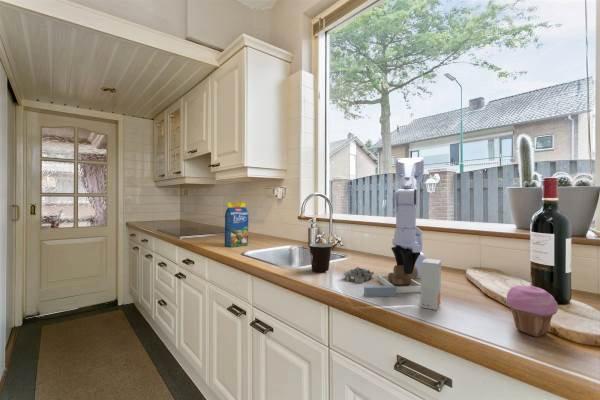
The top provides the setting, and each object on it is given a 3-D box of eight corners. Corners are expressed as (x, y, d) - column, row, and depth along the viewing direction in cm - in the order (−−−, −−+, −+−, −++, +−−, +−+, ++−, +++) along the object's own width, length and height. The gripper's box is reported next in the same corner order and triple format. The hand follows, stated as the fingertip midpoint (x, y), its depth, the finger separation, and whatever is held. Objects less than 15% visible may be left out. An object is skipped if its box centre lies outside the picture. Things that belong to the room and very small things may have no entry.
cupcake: (542, 345, 59) (543, 294, 59) (497, 327, 67) (497, 282, 67) (565, 336, 63) (566, 289, 63) (520, 321, 71) (521, 278, 71)
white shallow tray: (404, 281, 103) (404, 275, 103) (425, 293, 90) (425, 286, 90) (377, 282, 102) (377, 275, 102) (394, 294, 89) (394, 287, 89)
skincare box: (437, 310, 77) (438, 264, 77) (419, 307, 79) (420, 261, 79) (440, 303, 82) (441, 259, 82) (424, 300, 84) (424, 258, 84)
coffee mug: (330, 274, 112) (330, 247, 112) (307, 272, 114) (307, 246, 113) (333, 267, 123) (333, 242, 123) (312, 266, 125) (312, 242, 125)
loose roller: (395, 280, 93) (400, 276, 90) (392, 267, 95) (397, 263, 92) (413, 279, 94) (419, 276, 90) (410, 267, 96) (416, 263, 92)
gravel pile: (360, 286, 98) (360, 274, 98) (340, 282, 103) (341, 270, 103) (376, 280, 106) (376, 268, 106) (357, 276, 111) (357, 264, 111)
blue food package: (224, 246, 172) (224, 202, 172) (241, 244, 181) (242, 202, 181) (230, 247, 168) (231, 202, 168) (248, 245, 177) (248, 202, 176)
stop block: (393, 295, 88) (393, 285, 88) (396, 297, 86) (396, 287, 86) (363, 296, 87) (364, 286, 87) (365, 298, 85) (365, 287, 85)
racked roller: (405, 271, 99) (411, 274, 95) (405, 283, 99) (411, 286, 95) (387, 271, 98) (393, 274, 94) (387, 283, 98) (393, 287, 94)
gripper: (430, 230, 86) (430, 277, 86) (406, 225, 100) (406, 266, 101) (407, 230, 85) (406, 278, 85) (386, 225, 100) (386, 266, 100)
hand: (404, 271), depth 93 cm, fingers closed on loose roller, 4 cm apart
